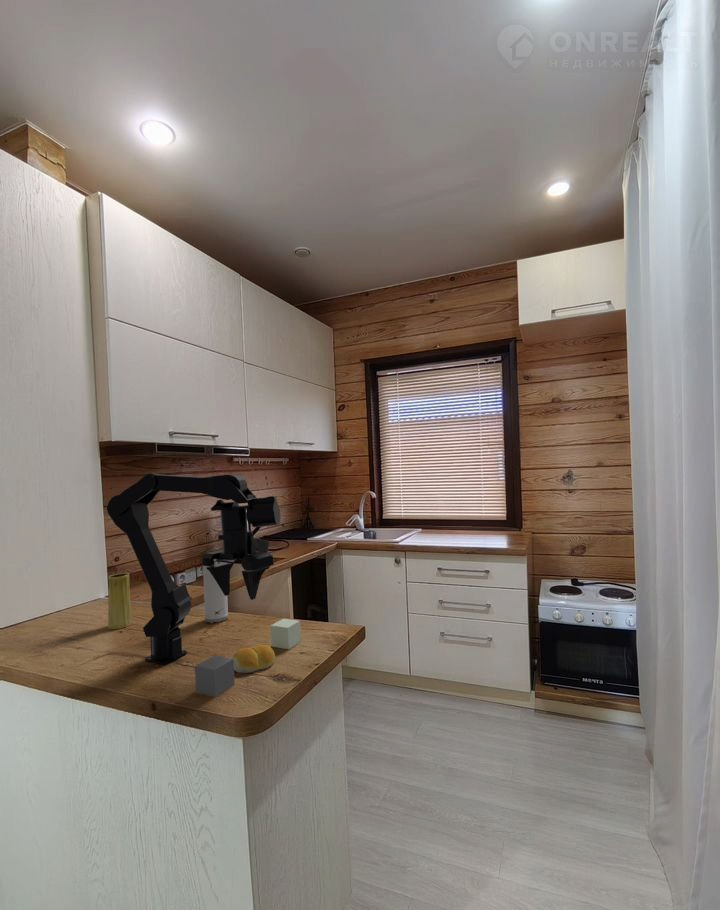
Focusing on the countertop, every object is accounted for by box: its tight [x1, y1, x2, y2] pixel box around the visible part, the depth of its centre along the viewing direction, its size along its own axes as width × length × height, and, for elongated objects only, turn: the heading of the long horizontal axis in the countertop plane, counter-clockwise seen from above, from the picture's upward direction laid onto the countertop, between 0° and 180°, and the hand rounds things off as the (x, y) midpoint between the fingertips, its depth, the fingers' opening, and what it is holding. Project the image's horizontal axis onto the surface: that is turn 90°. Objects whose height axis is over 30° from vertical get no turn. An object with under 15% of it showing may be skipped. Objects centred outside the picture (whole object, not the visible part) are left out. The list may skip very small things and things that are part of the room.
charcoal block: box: [194, 655, 235, 698], centre depth 84 cm, size 5×5×5 cm
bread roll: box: [232, 644, 276, 674], centre depth 95 cm, size 8×9×4 cm
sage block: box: [270, 618, 302, 650], centre depth 105 cm, size 5×5×5 cm
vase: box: [107, 572, 133, 630], centre depth 125 cm, size 6×6×14 cm
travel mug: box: [202, 548, 229, 624], centre depth 126 cm, size 6×7×20 cm
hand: (239, 597), depth 100 cm, fingers open, 9 cm apart
